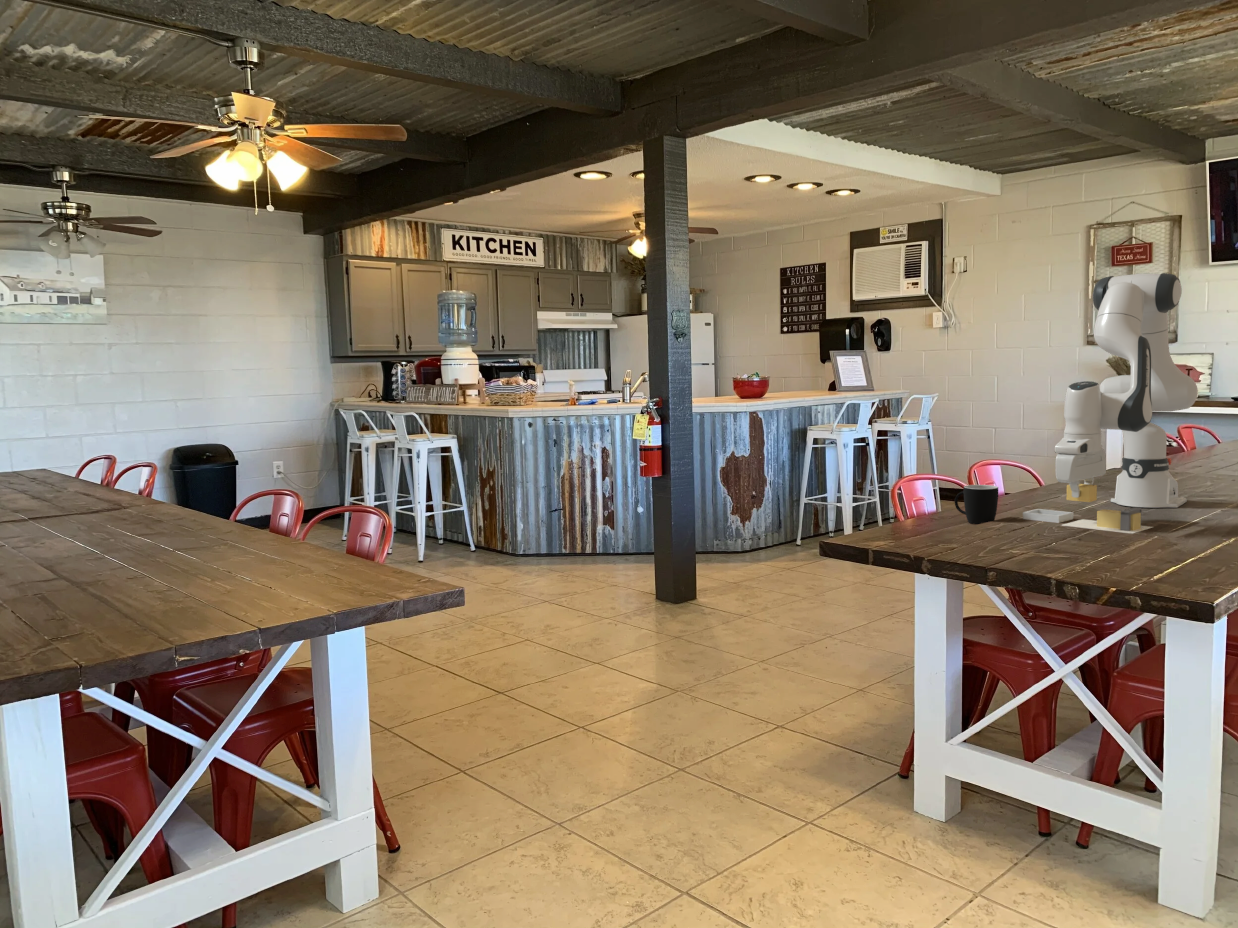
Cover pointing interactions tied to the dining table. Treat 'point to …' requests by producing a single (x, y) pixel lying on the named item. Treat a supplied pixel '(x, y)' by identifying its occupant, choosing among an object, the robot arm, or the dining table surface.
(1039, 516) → the stub tray
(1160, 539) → the dining table surface
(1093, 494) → the stub
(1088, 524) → the board
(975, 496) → the mug
